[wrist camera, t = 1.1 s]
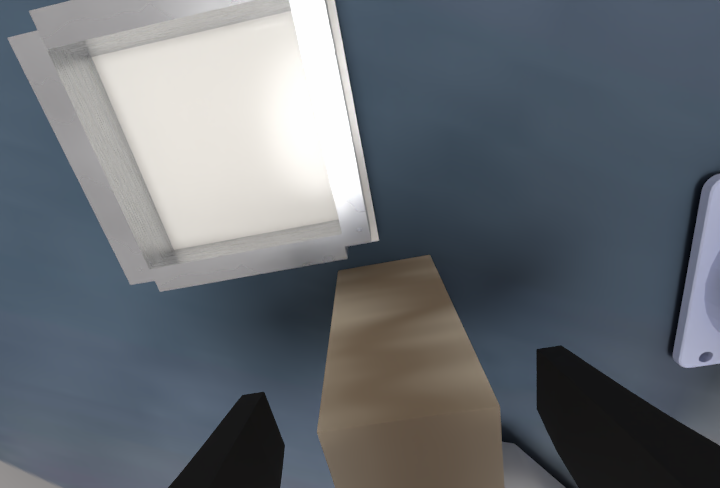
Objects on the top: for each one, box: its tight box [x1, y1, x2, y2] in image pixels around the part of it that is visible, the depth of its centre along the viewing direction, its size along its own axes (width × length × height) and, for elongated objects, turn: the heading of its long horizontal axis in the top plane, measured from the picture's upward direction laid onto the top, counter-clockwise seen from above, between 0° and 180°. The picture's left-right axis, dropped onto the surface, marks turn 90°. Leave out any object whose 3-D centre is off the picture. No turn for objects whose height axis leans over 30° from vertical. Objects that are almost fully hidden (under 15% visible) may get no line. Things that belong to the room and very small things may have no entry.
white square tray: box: [8, 0, 371, 292], centre depth 10 cm, size 8×8×2 cm
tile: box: [92, 0, 379, 250], centre depth 11 cm, size 8×8×1 cm
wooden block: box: [317, 255, 505, 488], centre depth 10 cm, size 4×4×7 cm
